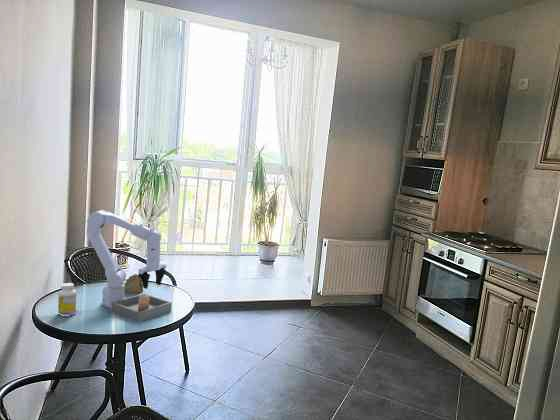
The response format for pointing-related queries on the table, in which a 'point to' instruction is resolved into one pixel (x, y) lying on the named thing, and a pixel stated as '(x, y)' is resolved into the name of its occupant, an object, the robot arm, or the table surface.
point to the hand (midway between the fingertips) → (151, 286)
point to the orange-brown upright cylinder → (143, 302)
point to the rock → (133, 285)
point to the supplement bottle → (67, 299)
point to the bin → (131, 311)
